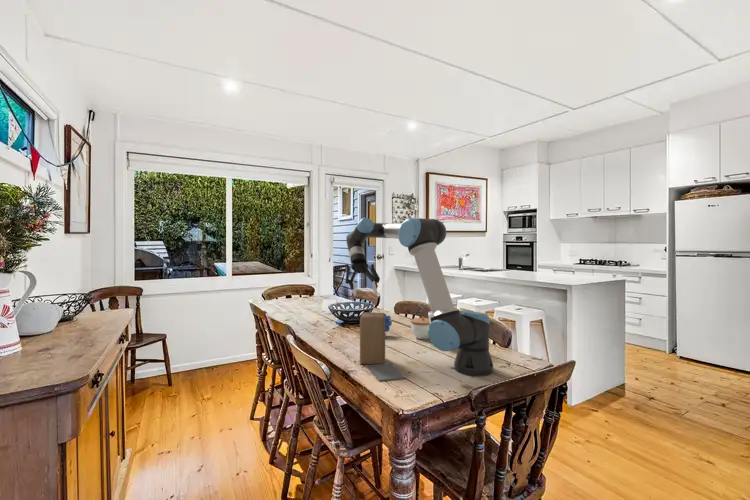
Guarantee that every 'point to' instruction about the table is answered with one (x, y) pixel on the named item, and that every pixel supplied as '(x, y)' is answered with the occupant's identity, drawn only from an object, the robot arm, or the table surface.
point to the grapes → (387, 323)
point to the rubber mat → (385, 372)
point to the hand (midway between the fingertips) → (365, 294)
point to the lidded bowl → (420, 327)
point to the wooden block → (372, 338)
